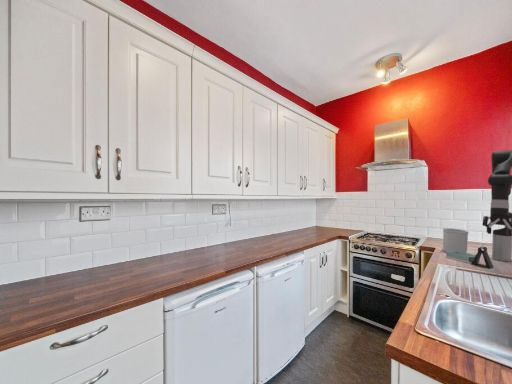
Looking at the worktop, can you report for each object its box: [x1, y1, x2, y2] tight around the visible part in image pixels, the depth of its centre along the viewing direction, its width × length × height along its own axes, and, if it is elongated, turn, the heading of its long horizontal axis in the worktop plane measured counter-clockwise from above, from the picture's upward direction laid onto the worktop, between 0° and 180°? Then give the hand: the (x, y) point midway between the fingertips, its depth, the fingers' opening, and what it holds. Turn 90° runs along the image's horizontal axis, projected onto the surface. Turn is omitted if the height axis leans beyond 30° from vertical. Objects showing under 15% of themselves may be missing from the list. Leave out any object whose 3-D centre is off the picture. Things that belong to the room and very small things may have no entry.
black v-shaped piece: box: [470, 246, 494, 270], centre depth 145 cm, size 9×6×12 cm, turn 32°
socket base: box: [445, 251, 481, 264], centre depth 158 cm, size 11×14×4 cm
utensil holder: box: [442, 227, 469, 253], centre depth 177 cm, size 15×15×18 cm
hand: (498, 234), depth 137 cm, fingers open, 8 cm apart
